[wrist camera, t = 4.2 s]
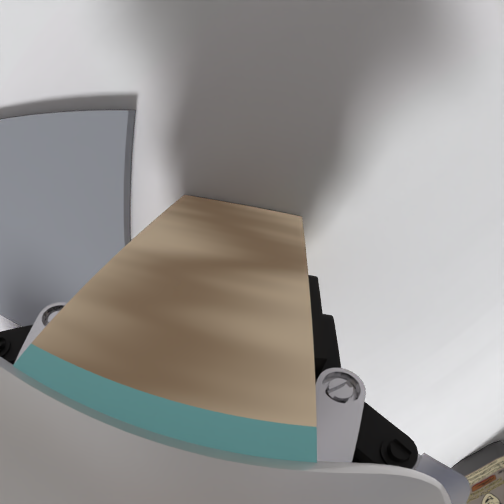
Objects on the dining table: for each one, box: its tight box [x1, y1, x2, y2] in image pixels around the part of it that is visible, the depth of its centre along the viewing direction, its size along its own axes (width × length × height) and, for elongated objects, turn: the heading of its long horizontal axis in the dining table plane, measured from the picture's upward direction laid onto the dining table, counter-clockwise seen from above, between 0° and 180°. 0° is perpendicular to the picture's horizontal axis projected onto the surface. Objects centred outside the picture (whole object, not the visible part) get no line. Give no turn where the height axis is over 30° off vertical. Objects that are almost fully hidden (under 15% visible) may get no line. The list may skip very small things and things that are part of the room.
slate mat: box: [0, 110, 135, 327], centre depth 14 cm, size 20×16×1 cm
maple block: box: [13, 195, 317, 463], centre depth 9 cm, size 5×5×10 cm
